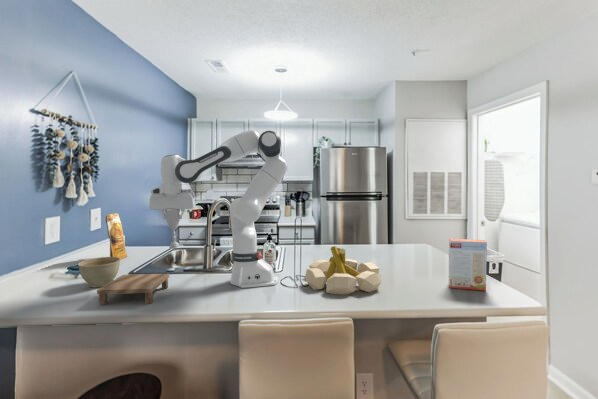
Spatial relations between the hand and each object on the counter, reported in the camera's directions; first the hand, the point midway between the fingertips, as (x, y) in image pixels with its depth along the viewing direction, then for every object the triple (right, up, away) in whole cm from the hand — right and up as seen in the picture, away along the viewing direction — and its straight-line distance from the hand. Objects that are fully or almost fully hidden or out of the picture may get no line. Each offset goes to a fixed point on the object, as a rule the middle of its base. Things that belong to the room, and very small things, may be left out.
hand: (173, 219), depth 150 cm
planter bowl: (-32, -30, -4) cm, 44 cm away
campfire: (+80, -30, -4) cm, 85 cm away
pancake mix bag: (-51, -27, +44) cm, 73 cm away
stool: (-8, -31, -19) cm, 37 cm away
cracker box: (+132, -29, -12) cm, 136 cm away
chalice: (0, -14, +1) cm, 14 cm away
